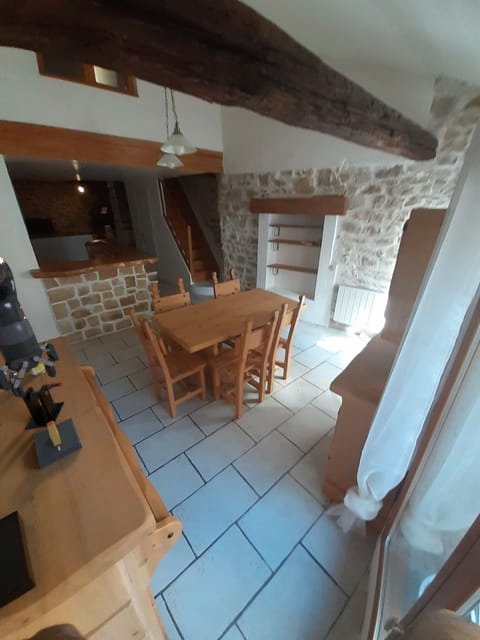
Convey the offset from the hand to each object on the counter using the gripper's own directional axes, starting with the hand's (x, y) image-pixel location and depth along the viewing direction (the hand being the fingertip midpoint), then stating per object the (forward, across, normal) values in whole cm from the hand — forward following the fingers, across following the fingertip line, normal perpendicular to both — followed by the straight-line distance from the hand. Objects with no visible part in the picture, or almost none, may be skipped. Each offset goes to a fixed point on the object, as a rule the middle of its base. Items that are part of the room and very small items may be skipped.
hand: (37, 385), depth 70 cm
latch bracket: (+20, -3, -10) cm, 22 cm away
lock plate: (+20, +3, +4) cm, 20 cm away
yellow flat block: (+17, +3, +4) cm, 17 cm away
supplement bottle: (+20, -19, -36) cm, 45 cm away
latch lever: (+13, -7, -12) cm, 19 cm away
